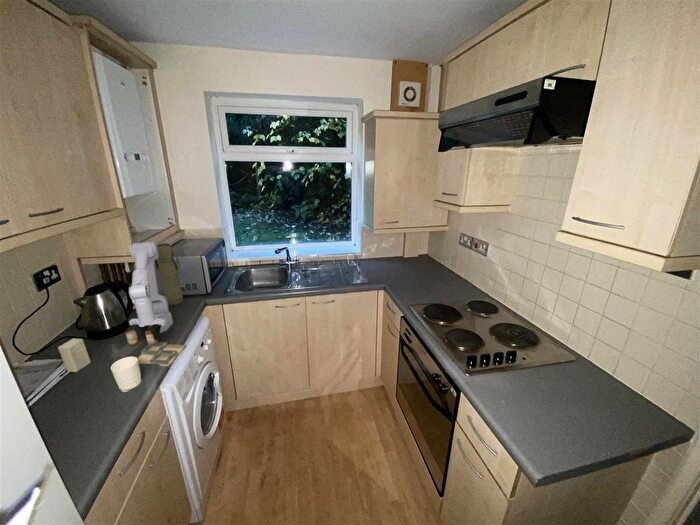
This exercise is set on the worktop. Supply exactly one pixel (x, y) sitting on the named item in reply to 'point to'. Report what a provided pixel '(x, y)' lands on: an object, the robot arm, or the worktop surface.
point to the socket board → (160, 353)
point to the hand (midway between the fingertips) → (152, 339)
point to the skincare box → (74, 354)
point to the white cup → (126, 373)
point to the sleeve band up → (150, 337)
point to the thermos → (169, 273)
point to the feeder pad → (126, 350)
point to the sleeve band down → (132, 338)
